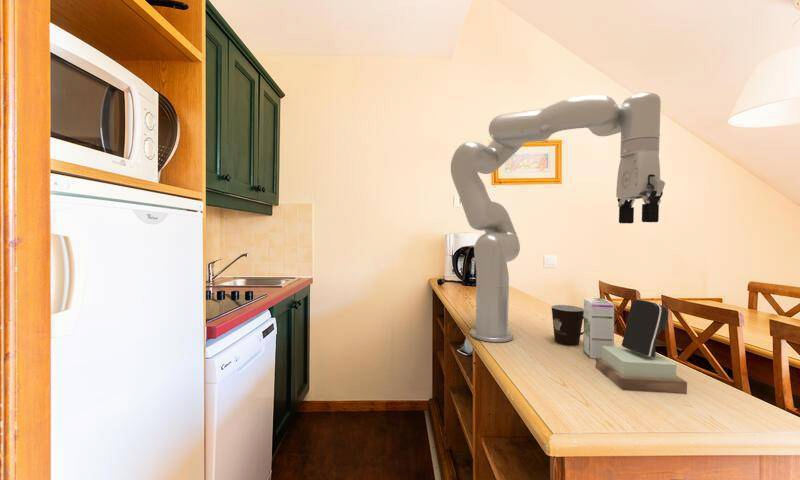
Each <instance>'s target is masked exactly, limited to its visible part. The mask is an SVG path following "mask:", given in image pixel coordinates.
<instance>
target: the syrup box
mask: <svg viewBox="0 0 800 480" xmlns="http://www.w3.org/2000/svg"><path fill="white" fill-rule="evenodd" d="M583 309H584V315H583V317H584V319H583V332H584V333H583V335H582V337H583V341H582V344H583V349H582V350H583V352H584V353H585V354H586V355H587V356H588V358H590V359H595V360H596V357H598V358H601V346H612V347H615V346H614V345H615V303H614V302H612V301H610V300H608V299H606V298H598V297H587V298H586V297H584V298H583Z"/></svg>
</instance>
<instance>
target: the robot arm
mask: <svg viewBox="0 0 800 480" xmlns="http://www.w3.org/2000/svg"><path fill="white" fill-rule="evenodd" d="M661 103H662V102H661V97H660V95H658V94H657V93H654V92H645V93H644V92H643V93H638V94H635V95H634V94H633V95H631V96H629V97H626V99H625V100H624V101H623V102H622V104H617V102H616V101H615V100H614V99H613V98H612V97H610V96H608V95H604V94H593V95H585V96H578V97H572V98H567V99H563V100H560V101H557V102H556V103H553V104H550V105H548V106H546V107H544V108H543V107H542V108H538V109H530V110H524V111H523V110H522V111H516V112H510V113H509V112H508V113H503V114H499V115H497V116H495V117H494V118H493V119H491V121H490V122H489V126H488V133H489V137H490V139H491V140H493V141H491V143H490V144H489V145H488V146H487V145H484V144H482V143H480V142H476V141H466V142H463V143H461V144H460V145H459V146H458V147H457V148H456V150H454V153H453V155H452V157H451V162H450V175H451V178H452V182H453V184H454V187H455V189H456V192H457V195H458V198H459V200H460V204H461V206H462V209H463V211H464V214H465V217H466V220H467V223H468V224H469V226H470V227H471V228H472V229H474V230H475V231H481V232H482V231H483V232H485V233H483V234H481V235H480V236H479V237H478V238H477V240H476V241H475V244H474V248H473V254H474V262H475V270H476V271H475V272H476V276H475V277H476V278H475V279H476V283H475V285H476V289H475V290H476V291H475V293H476V295H475V307H476V308H475V327H474V328H472V329H471V330H470V336H471V337H472V338H474V339H475V340H476V339H477V340H480V341H482V342H483V341H484V342H491V343H505V342H510V341H512V340H513V339H514V333H513V332H512V331H510V330H509V299H510V298H509V297H510V296H509V295H510V293H509V291H510V277H509V276H510V275H509V270H508V269H509V268H508V262H511V261H514V260H515V259H516V258H517V257H518V255H520V251H521V244H520V243H521V242H520V240H519V237H518V235H517V232H516V230H515V227H514V224H513V222H512V219H511V217H510V214H509V212H508V211H507V209H506V207H505V206H504V205H502V204H500V203H498V202H496V201H492V200H491V198H490V197H489V194H488V192H487V189H486V185H485V184H484V182H483V180H482V178H481V177H480V175H479V174H482V175H483V174H484V175H488V174H493V173H494V172H496V171H497V170H499V169H500V168H501V167H502V166H503V165H504V164H505V163H506V162H507V161H508V160H509V159H510V158H511V157H513V155H515V154H516V153H517V152H518V151H519V150H520V149H521V148H522V147H523V145H524V144H525V143H529V142H530V143H531V142H543V141H546V140H548V139H549V138H550V137H551V136H552V135H554V134H556V133H558V132H562V131H567V130H575V129H586V128H587V129H588V130H589V131H590V133H592V134H593V135H595V136H598V137H610V136H613V135H616V134H620V150H619V151H620V152H619V153H620V155H619V158H620V161H619V165H618V169H617V170H618V171H617V177H616V179H617V181H616V194H615V195H616V198H617V203H618V223H619V224H633V223H634V222H635V221H634V219H635V217H634V213H635V207H633V205H634V203H635V201H636V200H639V199H642V201H643V204H641V222H642V223H658V222H659V220H660V219H659V217H660V215H659V213H660V212H659V211H660V204H661V202H662V201H661V198H662V196H663V194H664V193H663V191H664V188H665V185H666V182H665V181H664V180H662V179H661V164H660V156H659V155H660V138H661V131H660V130H661V106H662V105H661Z"/></svg>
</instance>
